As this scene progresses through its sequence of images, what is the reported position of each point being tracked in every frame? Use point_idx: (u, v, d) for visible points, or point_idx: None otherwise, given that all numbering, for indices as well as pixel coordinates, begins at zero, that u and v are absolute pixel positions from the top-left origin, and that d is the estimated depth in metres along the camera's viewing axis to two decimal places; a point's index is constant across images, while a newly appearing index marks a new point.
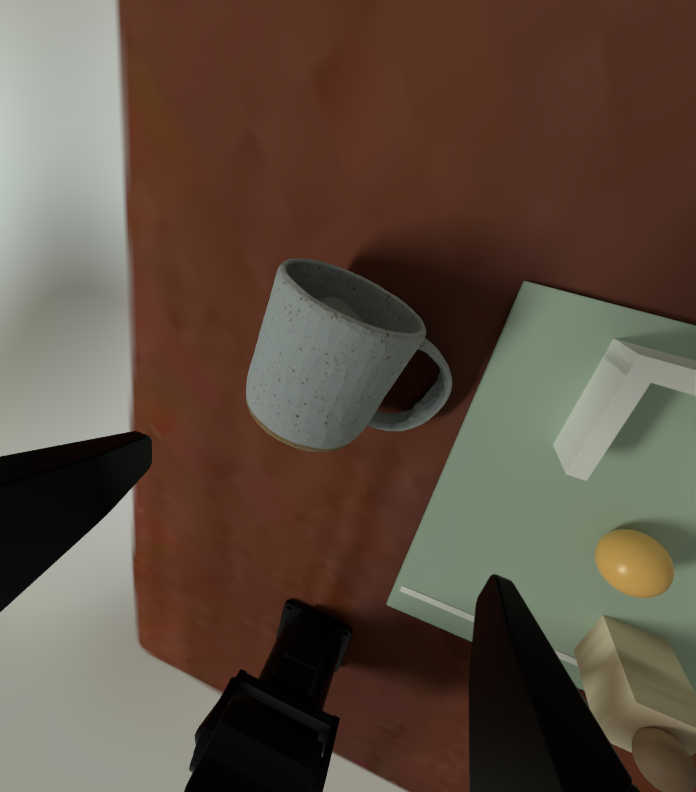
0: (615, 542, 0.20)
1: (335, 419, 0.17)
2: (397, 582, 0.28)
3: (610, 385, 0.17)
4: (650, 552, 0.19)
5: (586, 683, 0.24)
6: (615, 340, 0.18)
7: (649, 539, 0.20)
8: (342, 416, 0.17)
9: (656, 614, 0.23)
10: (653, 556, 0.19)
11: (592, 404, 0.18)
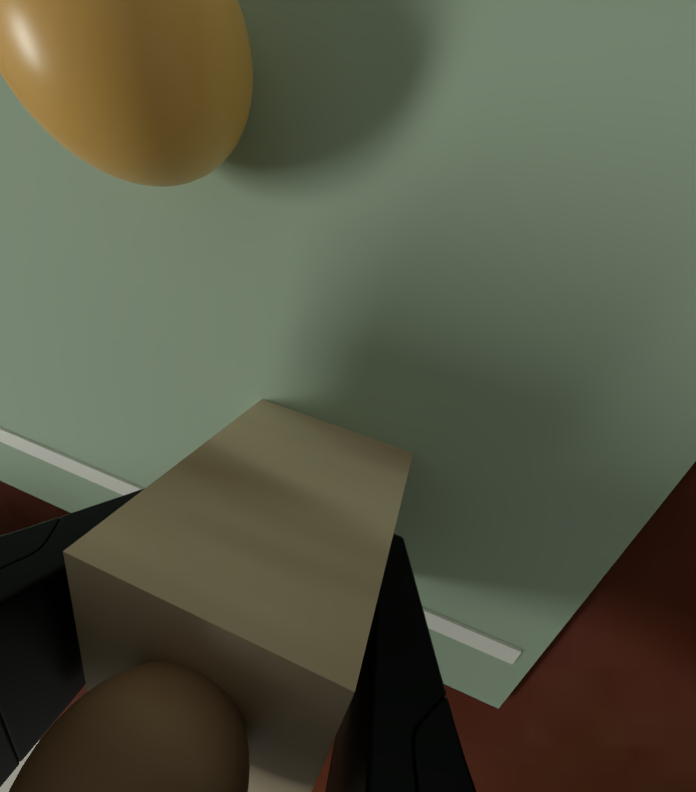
0: None
1: None
2: None
3: None
4: None
5: None
6: None
7: None
8: None
9: (365, 367, 0.08)
10: None
11: None
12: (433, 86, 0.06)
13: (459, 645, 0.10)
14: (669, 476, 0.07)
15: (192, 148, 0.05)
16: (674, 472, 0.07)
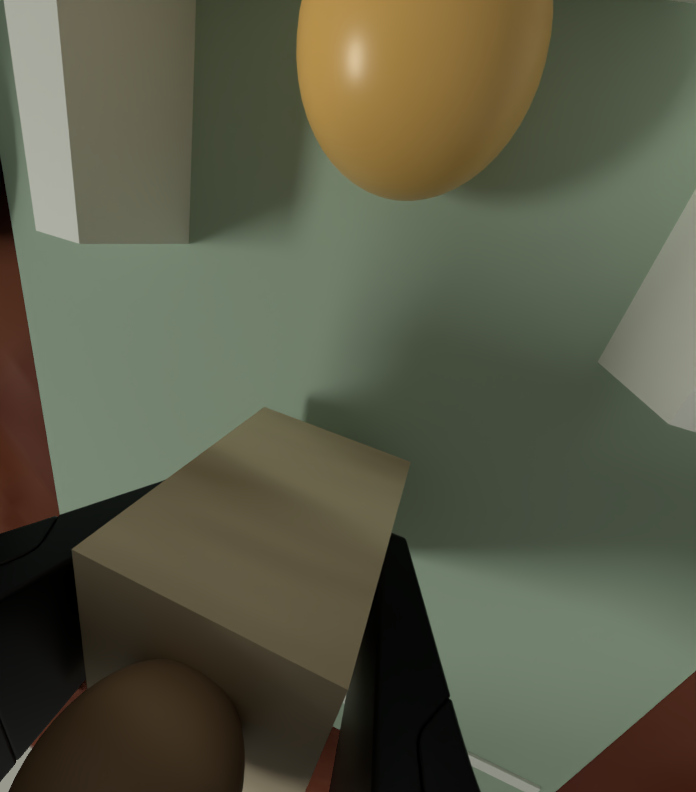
0: (299, 47, 0.05)
1: None
2: None
3: None
4: (361, 119, 0.05)
5: None
6: None
7: (392, 18, 0.04)
8: None
9: (433, 609, 0.12)
10: (370, 135, 0.05)
11: None
12: (492, 486, 0.09)
13: (492, 777, 0.14)
14: (645, 704, 0.11)
15: None
16: (648, 703, 0.11)
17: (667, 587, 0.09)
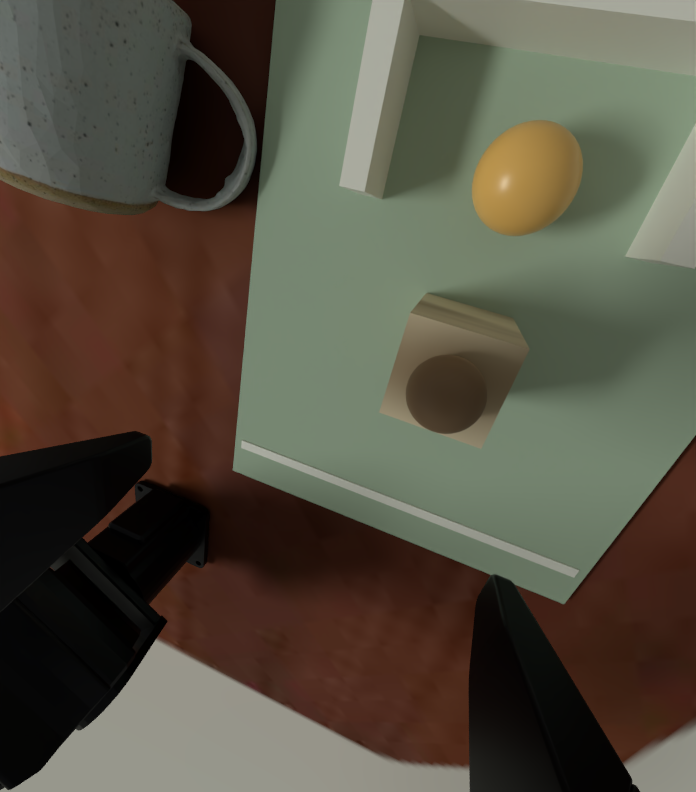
0: (474, 205, 0.13)
1: (43, 119, 0.13)
2: (237, 437, 0.24)
3: None
4: None
5: None
6: None
7: (509, 234, 0.13)
8: (51, 114, 0.13)
9: (514, 436, 0.18)
10: None
11: None
12: (559, 341, 0.16)
13: (545, 569, 0.21)
14: (650, 486, 0.17)
15: None
16: (652, 484, 0.17)
17: (663, 397, 0.16)
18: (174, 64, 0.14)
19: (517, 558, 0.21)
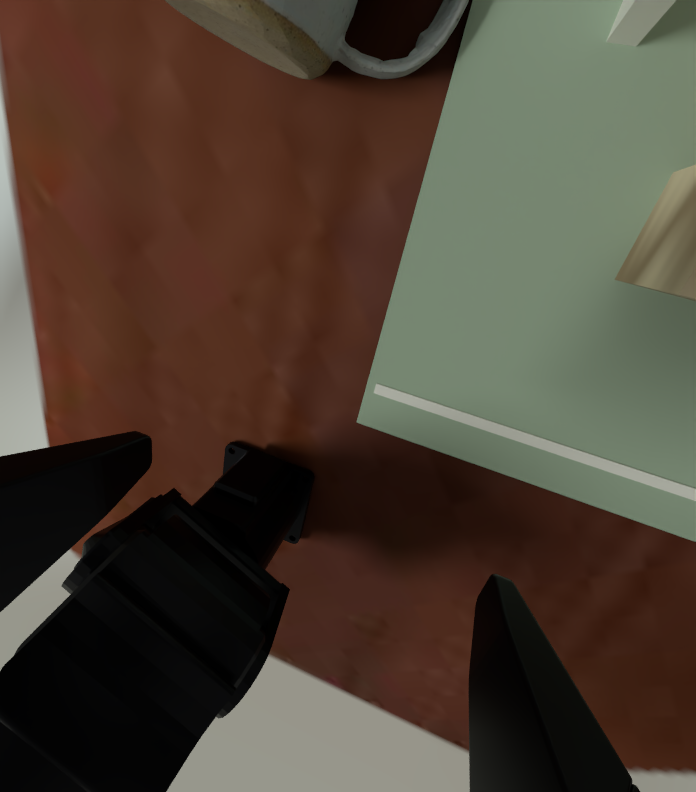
0: None
1: None
2: (369, 380, 0.20)
3: None
4: None
5: (645, 275, 0.13)
6: None
7: None
8: None
9: None
10: None
11: None
12: None
13: None
14: None
15: None
16: None
17: None
18: None
19: None
